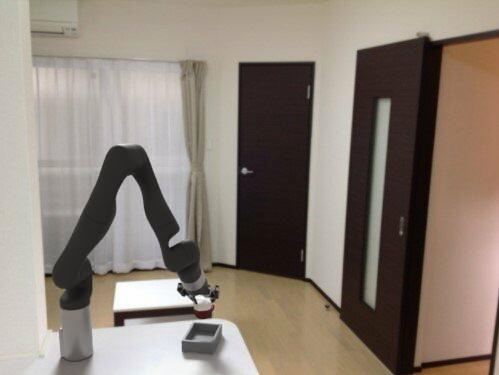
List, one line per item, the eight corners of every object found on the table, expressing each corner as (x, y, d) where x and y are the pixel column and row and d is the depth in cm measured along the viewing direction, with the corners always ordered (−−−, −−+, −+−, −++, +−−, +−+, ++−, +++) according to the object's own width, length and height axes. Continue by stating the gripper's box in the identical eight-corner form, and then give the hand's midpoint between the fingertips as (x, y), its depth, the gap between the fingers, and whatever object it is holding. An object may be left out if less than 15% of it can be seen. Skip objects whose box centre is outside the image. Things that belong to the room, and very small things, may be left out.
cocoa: (213, 313, 164) (214, 279, 162) (216, 320, 158) (217, 286, 156) (186, 314, 162) (187, 280, 160) (187, 322, 156) (188, 287, 154)
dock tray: (181, 351, 156) (181, 340, 155) (193, 332, 169) (192, 321, 168) (212, 354, 154) (212, 343, 154) (222, 334, 168) (222, 324, 167)
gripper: (217, 269, 148) (225, 290, 162) (173, 266, 150) (185, 287, 164) (213, 292, 144) (222, 311, 157) (168, 289, 146) (180, 308, 160)
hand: (203, 299), depth 161 cm, fingers closed on cocoa, 6 cm apart
